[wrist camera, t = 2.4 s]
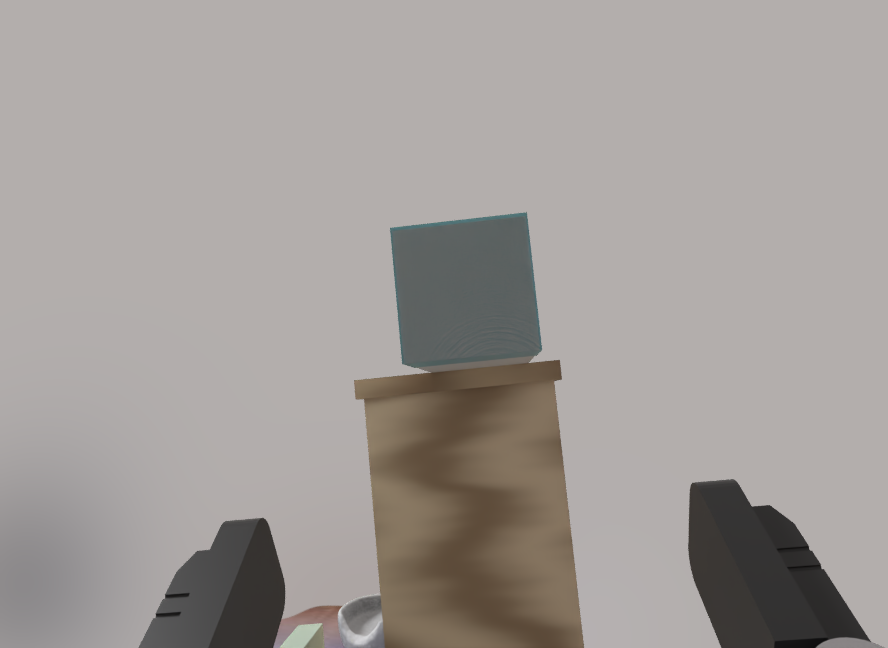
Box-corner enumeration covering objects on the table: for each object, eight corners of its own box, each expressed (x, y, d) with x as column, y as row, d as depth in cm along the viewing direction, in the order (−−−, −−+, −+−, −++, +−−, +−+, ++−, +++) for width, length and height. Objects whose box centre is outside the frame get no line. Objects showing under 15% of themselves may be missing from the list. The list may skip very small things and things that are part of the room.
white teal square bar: (402, 364, 21) (390, 228, 21) (454, 379, 44) (447, 315, 45) (542, 349, 20) (526, 212, 21) (518, 373, 44) (512, 309, 45)
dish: (419, 666, 83) (415, 622, 84) (318, 661, 88) (315, 619, 89) (461, 625, 97) (458, 588, 97) (372, 622, 102) (369, 587, 102)
